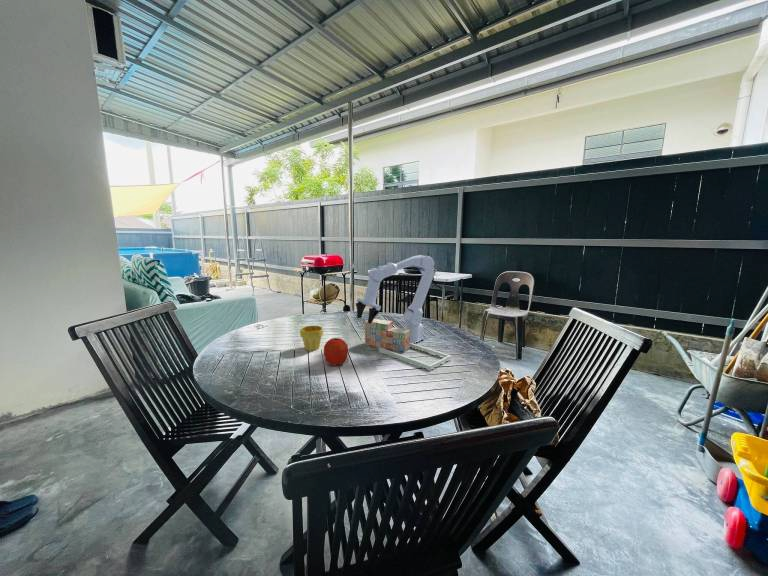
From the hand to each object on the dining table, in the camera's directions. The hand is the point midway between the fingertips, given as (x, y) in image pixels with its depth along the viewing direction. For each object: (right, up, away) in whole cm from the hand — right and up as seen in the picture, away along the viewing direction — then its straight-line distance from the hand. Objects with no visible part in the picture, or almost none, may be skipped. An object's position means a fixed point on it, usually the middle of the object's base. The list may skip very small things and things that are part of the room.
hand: (364, 320), depth 148 cm
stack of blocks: (+11, -13, +2) cm, 17 cm away
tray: (+23, -15, -9) cm, 28 cm away
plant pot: (-25, -13, -1) cm, 28 cm away
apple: (-11, -16, -18) cm, 27 cm away
